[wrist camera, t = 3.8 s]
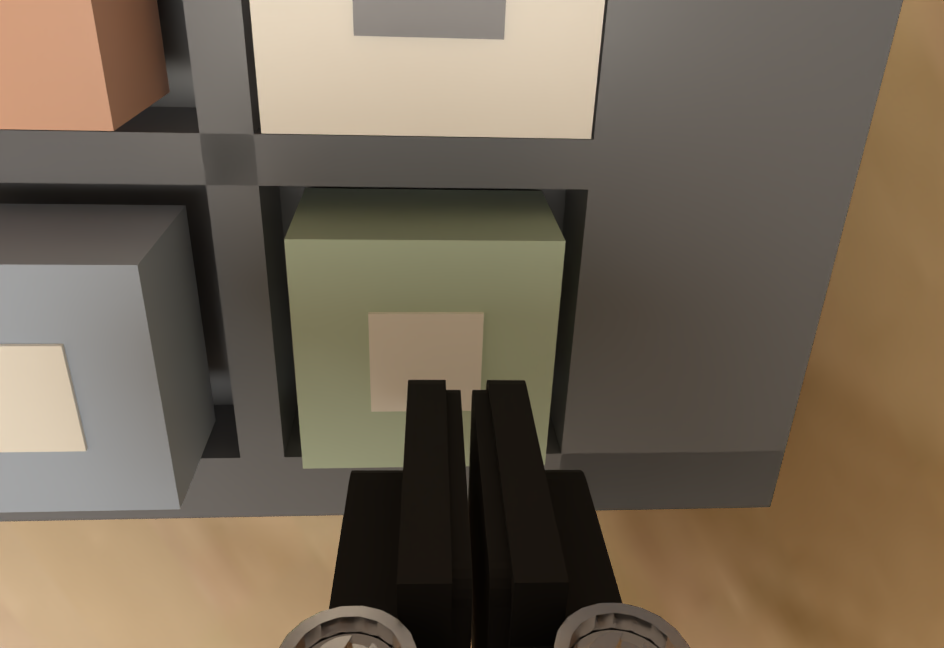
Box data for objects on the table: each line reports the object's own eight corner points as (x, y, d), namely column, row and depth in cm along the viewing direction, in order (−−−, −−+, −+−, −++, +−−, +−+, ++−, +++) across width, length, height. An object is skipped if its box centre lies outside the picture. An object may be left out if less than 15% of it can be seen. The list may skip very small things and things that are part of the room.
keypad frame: (913, -347, 11) (1007, -397, 10) (734, 448, 18) (769, 506, 16) (-612, -445, 10) (-836, -525, 8) (-207, 460, 16) (-283, 526, 14)
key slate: (185, 205, 13) (135, 267, 10) (215, 420, 15) (179, 512, 12) (-85, 202, 12) (-197, 265, 10) (-19, 422, 14) (-101, 517, 12)
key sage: (542, 191, 14) (566, 242, 12) (526, 389, 16) (545, 467, 14) (305, 188, 14) (283, 240, 11) (318, 390, 16) (302, 471, 13)
